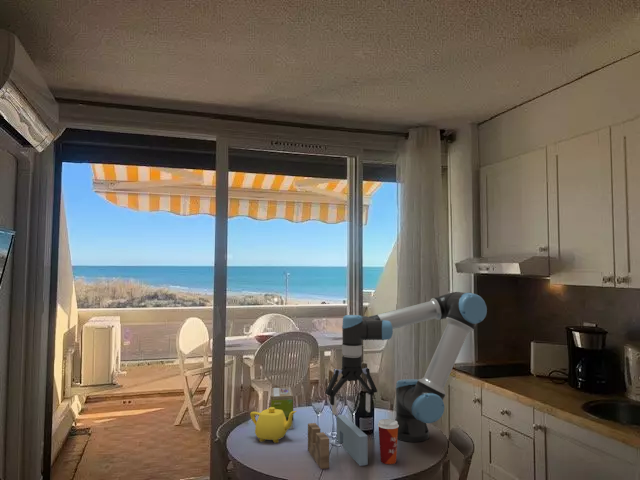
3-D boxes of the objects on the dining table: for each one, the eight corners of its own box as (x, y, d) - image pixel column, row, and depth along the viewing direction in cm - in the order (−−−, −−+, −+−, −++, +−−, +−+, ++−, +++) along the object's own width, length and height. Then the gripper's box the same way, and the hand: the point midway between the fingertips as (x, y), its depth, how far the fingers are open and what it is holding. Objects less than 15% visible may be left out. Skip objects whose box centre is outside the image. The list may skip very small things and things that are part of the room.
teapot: (292, 446, 184) (292, 414, 185) (244, 442, 189) (244, 410, 190) (300, 435, 198) (301, 405, 198) (255, 431, 202) (256, 401, 203)
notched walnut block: (307, 450, 181) (307, 423, 181) (315, 449, 182) (315, 422, 182) (320, 469, 164) (321, 439, 164) (329, 468, 164) (329, 438, 165)
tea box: (270, 419, 218) (270, 387, 219) (292, 418, 219) (292, 386, 220) (270, 430, 203) (270, 395, 204) (293, 429, 205) (294, 394, 206)
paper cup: (396, 466, 166) (396, 426, 167) (375, 463, 168) (375, 423, 169) (401, 458, 173) (400, 419, 174) (380, 455, 176) (380, 417, 177)
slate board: (336, 440, 191) (336, 415, 192) (343, 439, 192) (343, 414, 193) (359, 465, 166) (359, 436, 167) (367, 464, 167) (367, 435, 168)
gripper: (378, 353, 188) (377, 407, 186) (317, 355, 181) (317, 411, 179) (385, 356, 181) (385, 413, 179) (323, 358, 174) (322, 417, 172)
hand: (351, 412), depth 179 cm, fingers open, 13 cm apart
